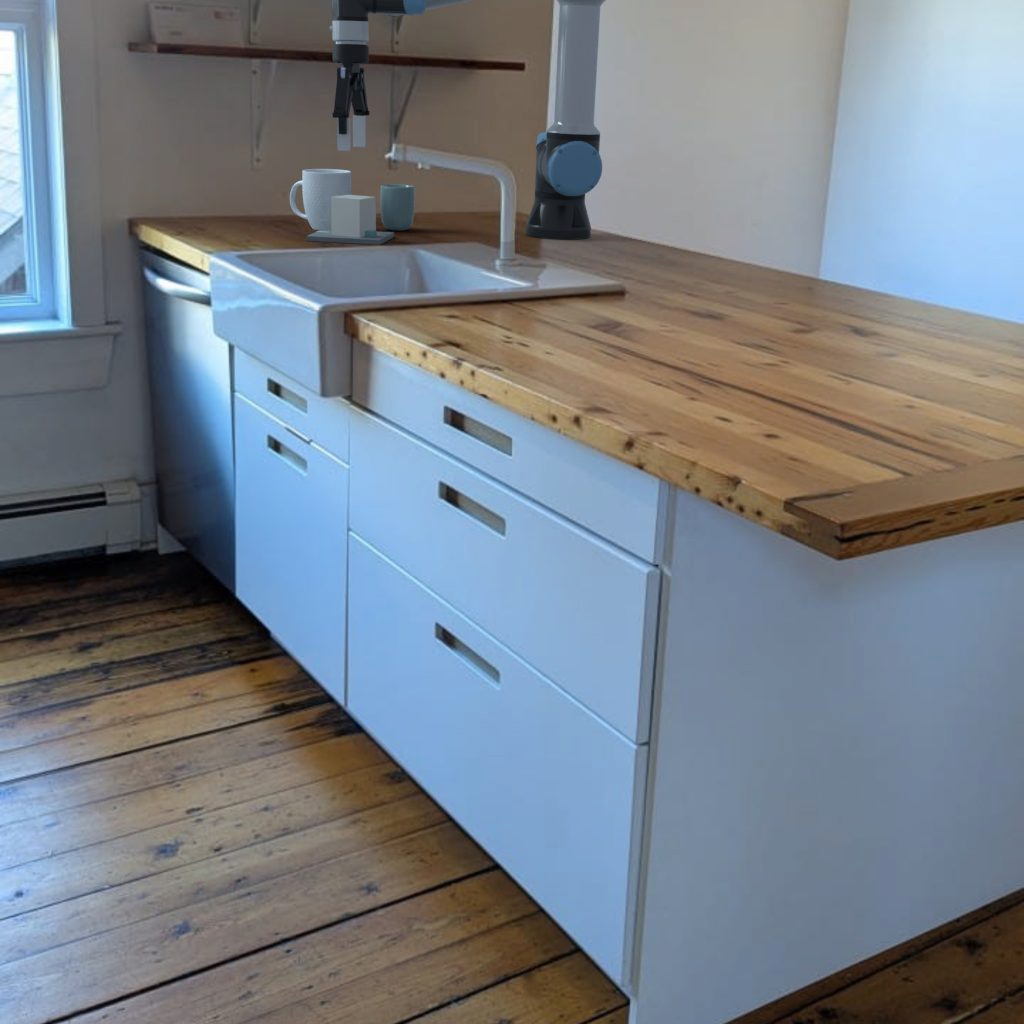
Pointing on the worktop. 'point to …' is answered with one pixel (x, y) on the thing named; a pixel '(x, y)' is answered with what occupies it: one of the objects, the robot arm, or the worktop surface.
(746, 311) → the worktop surface
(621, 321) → the worktop surface
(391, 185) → the cup
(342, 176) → the mug
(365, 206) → the grey cube
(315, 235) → the post plate
